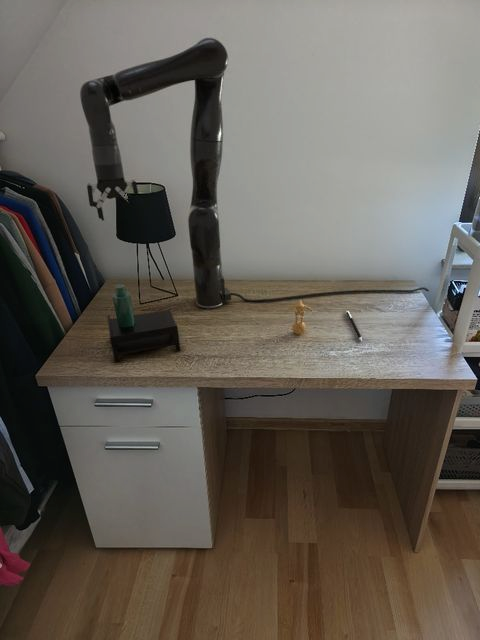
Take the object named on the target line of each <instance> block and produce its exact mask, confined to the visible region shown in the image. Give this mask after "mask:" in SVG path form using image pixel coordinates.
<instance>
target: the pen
mask: <svg viewBox="0 0 480 640" xmlns="http://www.w3.org/2000/svg"><path fill="white" fill-rule="evenodd" d="M346 316H347V317H348V320H349V321H350V323H351V326H352V328H353V330H354V332H355V334H356V336H357V338H358V340H359V341H360V342H363V337H362V335H361V333H360V331H359V329H358V327H357V325H356V323H355V321H354V318H353V317H352V315H351V313H350V311H349V310H346Z"/></svg>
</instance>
